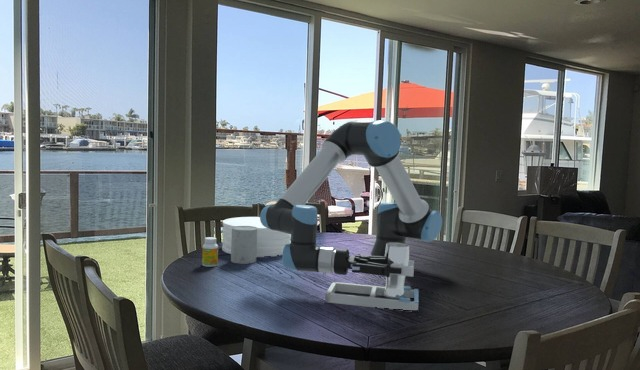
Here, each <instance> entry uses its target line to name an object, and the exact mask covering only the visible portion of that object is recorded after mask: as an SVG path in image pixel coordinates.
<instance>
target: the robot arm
mask: <svg viewBox="0 0 640 370" xmlns="http://www.w3.org/2000/svg"><path fill="white" fill-rule="evenodd" d="M401 139H402V137H401V133H400V130H399V128H398V127H397V126H396V125H395V124H394V123H393V122H390V121H386V120H380V119H378V120H358V119H357V120H350V121H347V122H346V123H343V124H342V125H340V126H338V127H337V128H336V129H335V130H334V131H333V132H331V133H330V134H329V136H327V137H326V138H325V140H324V141H323V142H322V144H321V149H320V150H319V152H317V154H316V155H315V156H314V157H313V159H312V160H311V161H310V162H309V164H307V165H306V167H305V168H304V169H303V171H302V172H301V173H300V174H299V175H298V176H297V177H296V179H294V181H293V182H292V183H291V185H290V186H289V187H288V188H287V190H286V191H285V192H284V193H283V194H282V195H281V197H280V198H279V199H278V200H277V201H276V203H274V204H269V205H266V206H264V207H263V208H262V210H261V211H260V214H259V217H260V221H261V223H262V225H263V226H264V227H266V228H269V229H271V230H276V231H280V232H284V233H287V234H290V235H291V239H290V241H291V244H286V245H285V247H284V249H283V255H281V260H282V263H281V264H282V266H283V267H284V268H285V269H288V270H293V271H297V272H299V271H300V272H301V271H302V272H312V273H313V272H314V273H322V275H327V274H333V273H334V274H335V275H341V276H342V275H343V276H346V275H347V274H348V273H349V270H351V272H352V273H353V274H355V273H356V274H360V273H361V274H367V275H373V276H374V275H375V276H382V277H385V278H386V277H389V276H390V274H391V275H401V276H406V277H413V278H414V275H415V274H414V272H415V270H414V269H415V260H410V259H409V264H408V266H402V265H392V264H391V266H390V265H385V264H384V259H385V250H386V244H387V243H392V242H394V243H404V244H407V243H406V240H407V239H406V238H409V239H412V240H416V241H420V242H428V243H430V242H433V241H435V240H437V238H438V236H439V235H440V233H441V230H442V227H443V226H442V225H443V217H442V214H441V213H440V211H438V210H432V209H431V207H430V205H429V203H428V202H427V201H426V200H425V199H421V197H420V195H419V193H418V191H417V189H416V188H415V186H414V184H413V182H412V180H411V178H410V176H409V174H408V172H407V170H406V168H405V166H404V165H403V163H402V161H401V159H400V157H399V154H400V151H401V150H400V149H401V146H402V141H401ZM355 155H356V156H357V155H358V156H363V157H364V159H365V160H366V162H367V163H368V165H369V166H370V167H372V168H375V169H376V170H377V172H378V175H379V176H380V178H381V180H382V182H383V183H384V185H385V187H386V189H387V190H388V191H389V192H388V193H389V194H390V195H391V197H392V199H393V200H394V202H383V203H380V204H379V205H378V206H377V207H378V208H377V213H376V231H375V233H376V234H375V235H376V236H375V242H374V244H373V246H372V249H371V251H370V255H367V254H361V253H359V254H355V256H350V251H349V249H346V248H336V249H335V247H330V246H329V247H328V246H327V247H326V246H317V232H318V222H319V219H318V208H317V207H316V206H314V205H309V204H308V205H307V203H308V201H309V200H310V199H311V198H312V196H313V195H314V194H315V193H316V192H317V191H318V189H319V188H320V187H321V185H322V184H323V183H324V182H325V181H326V180H327V179H328V177H329V176H330V175H331V173H332V172H333V171H334V170H335V168H336V167H337V166H338V165H339V164H342V163H344V162H346V161H345V160H347V159H348V158H349V157H351V156H355Z"/></svg>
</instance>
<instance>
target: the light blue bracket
mask: <svg viewBox="0 0 640 370" xmlns="http://www.w3.org/2000/svg"><path fill="white" fill-rule="evenodd" d="M411 287H412V286H409V285H407V286H406V285H404V290H408V291H411V290H412V288H411ZM413 290H414V299H413V301H414V303H418V305H419V303H420V302H419V300H420V299H419V289H418V288H414V289H413ZM398 300H399V302H409V303H410V301H411V299H410V298H404V297H399V299H398Z"/></svg>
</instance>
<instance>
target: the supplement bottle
mask: <svg viewBox="0 0 640 370" xmlns="http://www.w3.org/2000/svg"><path fill="white" fill-rule="evenodd" d="M201 257H202V258H201V259H202V260H201V261H202V262H201V265H202V266H203V267H205V268H206V267H208V268H213V267H216V266H217V267H218V260H219V245H218V244H217V237H214V236H213V237H212V236H208V237H207V236H206V237H205V238H204V244H203V245H202V255H201Z"/></svg>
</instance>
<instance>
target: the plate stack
mask: <svg viewBox="0 0 640 370" xmlns="http://www.w3.org/2000/svg"><path fill="white" fill-rule="evenodd" d="M235 226H253V227H257V228H258V229H257V254H256V258H265V257H264V256H271V257H278V256H277V255H279V256H282V255H283V249H284V247H285V245H286V244H291V234H287V233H284V232H280V231H276V230H271V229H269V228H266V227H264V226H263V225H262V223H261V221H260V216H240V217H231V218H226V219H224V220H223V221H222V236H221V237H222V240H221V244H222V245H221V250H222V251H223V252H224V253H226V254H230V255H231V242H232V227H235Z"/></svg>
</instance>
